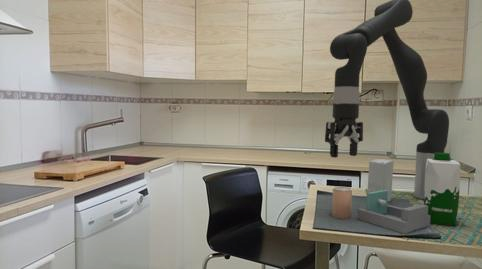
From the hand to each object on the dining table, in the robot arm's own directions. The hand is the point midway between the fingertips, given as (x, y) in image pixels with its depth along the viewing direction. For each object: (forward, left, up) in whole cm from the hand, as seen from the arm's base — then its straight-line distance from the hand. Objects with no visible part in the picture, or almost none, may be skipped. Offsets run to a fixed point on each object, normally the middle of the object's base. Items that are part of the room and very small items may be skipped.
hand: (343, 156), depth 107 cm
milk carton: (-21, +19, -19) cm, 34 cm away
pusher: (-8, +8, -17) cm, 21 cm away
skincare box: (-26, -5, -19) cm, 32 cm away
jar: (0, 0, -18) cm, 18 cm away
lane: (-8, +12, -18) cm, 23 cm away
